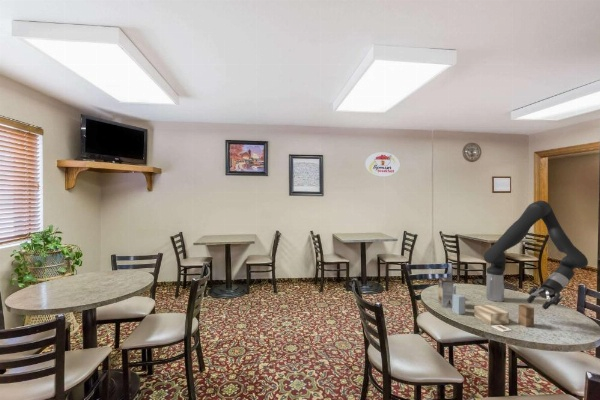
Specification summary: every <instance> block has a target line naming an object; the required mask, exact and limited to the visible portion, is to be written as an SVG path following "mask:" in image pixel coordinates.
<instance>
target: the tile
mask: <svg viewBox="0 0 600 400" xmlns="http://www.w3.org/2000/svg"><path fill="white" fill-rule="evenodd" d="M491 328H494V329H496V330H498V331H500V332H502V333H503V332H510V331H511V332H512V331H513V330H512V329H511V328H509V327H507V326H504V325H502V324H493V325H491Z"/></svg>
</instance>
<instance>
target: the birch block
mask: <svg viewBox="0 0 600 400" xmlns="http://www.w3.org/2000/svg"><path fill="white" fill-rule="evenodd" d="M473 311H474V314H473V315H474V317H476V318H477V319H479V320H480V321H483V322H485V323H487V324H489V325H491V326H493V325H502V324H509V318H510V317H509V316H510V315H509V312H508V311H506V310H503V309H502V308H499V307H497V306H495V305H493V304H483V305H474V310H473Z"/></svg>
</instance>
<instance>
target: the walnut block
mask: <svg viewBox="0 0 600 400" xmlns="http://www.w3.org/2000/svg"><path fill="white" fill-rule="evenodd" d="M518 324H519V325H521V326H523V327H525V328H533V327H535V307H534V306H531V305H528V304H518Z"/></svg>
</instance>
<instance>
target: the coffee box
mask: <svg viewBox="0 0 600 400" xmlns="http://www.w3.org/2000/svg"><path fill="white" fill-rule="evenodd" d="M453 285H454V281H453V280H452V279H451V278H450V277H441V276H440V277H438V300H437V301H438V304H440V306H441V307H442V308H449V309H451V308H452V304H453Z"/></svg>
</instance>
